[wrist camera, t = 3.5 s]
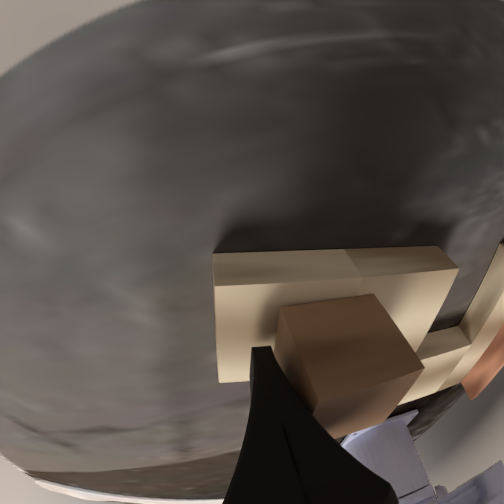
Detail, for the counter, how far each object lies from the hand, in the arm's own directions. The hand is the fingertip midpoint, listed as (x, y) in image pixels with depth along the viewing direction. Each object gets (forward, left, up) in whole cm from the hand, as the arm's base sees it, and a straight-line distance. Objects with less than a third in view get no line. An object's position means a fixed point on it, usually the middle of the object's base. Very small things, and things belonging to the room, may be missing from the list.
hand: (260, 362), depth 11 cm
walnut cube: (0, -3, -1) cm, 3 cm away
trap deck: (-4, -8, -3) cm, 10 cm away
